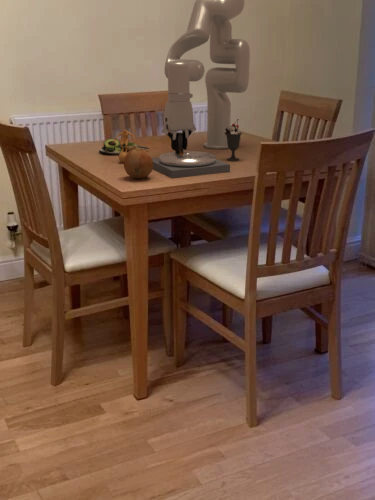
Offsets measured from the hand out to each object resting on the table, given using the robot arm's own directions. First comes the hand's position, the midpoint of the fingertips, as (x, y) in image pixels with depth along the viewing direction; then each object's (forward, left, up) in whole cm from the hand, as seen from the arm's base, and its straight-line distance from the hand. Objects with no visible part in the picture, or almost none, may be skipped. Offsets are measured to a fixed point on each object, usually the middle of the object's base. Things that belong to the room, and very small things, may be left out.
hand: (179, 149), depth 232 cm
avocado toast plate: (+11, -33, -6) cm, 35 cm away
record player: (+1, +8, -3) cm, 8 cm away
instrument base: (+1, +8, -6) cm, 10 cm away
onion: (+22, +14, -6) cm, 26 cm away
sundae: (-21, +2, -6) cm, 22 cm away
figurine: (+17, -12, -6) cm, 21 cm away
